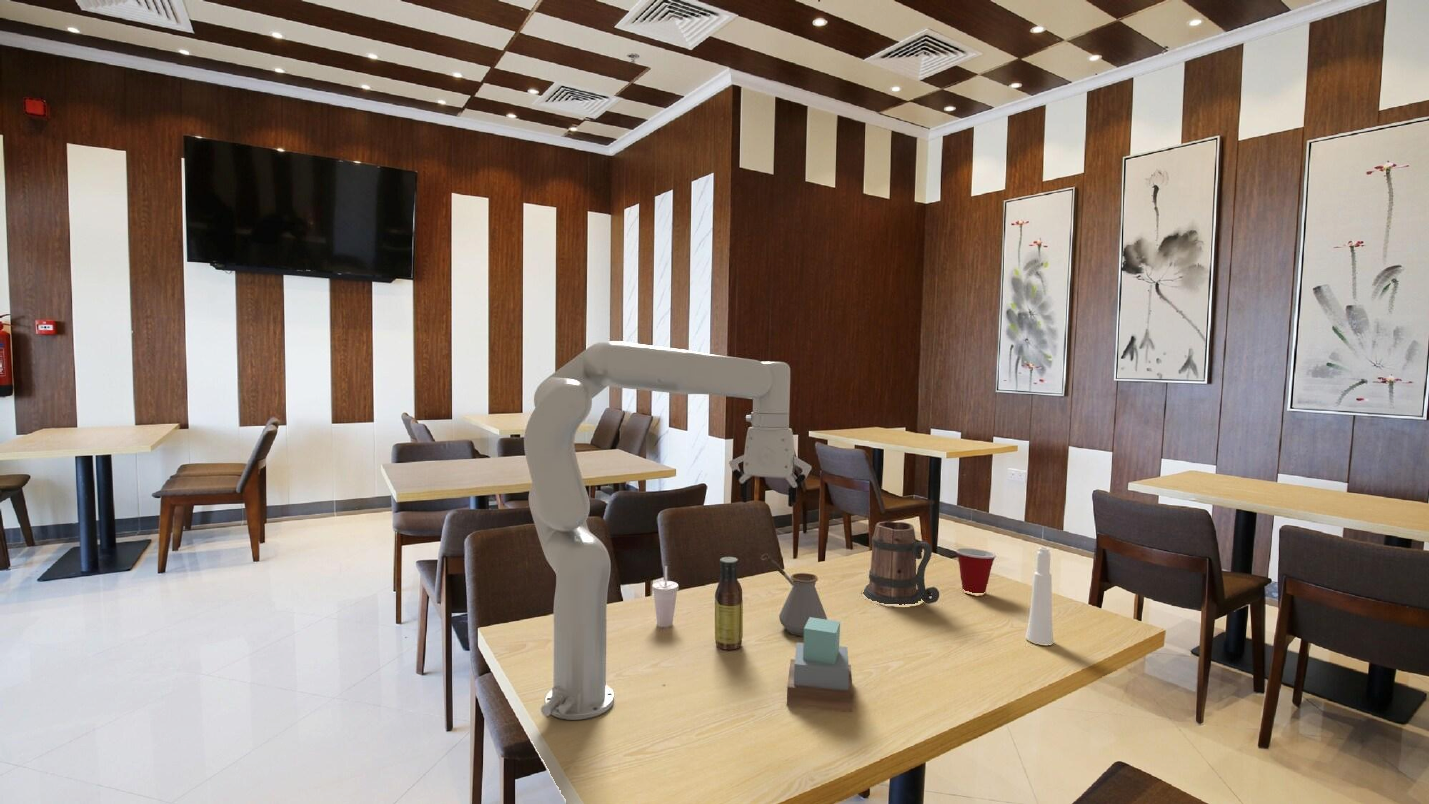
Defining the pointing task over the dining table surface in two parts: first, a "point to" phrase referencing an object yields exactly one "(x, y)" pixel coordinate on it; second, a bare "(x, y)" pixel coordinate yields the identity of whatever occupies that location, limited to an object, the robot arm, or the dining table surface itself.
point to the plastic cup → (975, 568)
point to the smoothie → (665, 601)
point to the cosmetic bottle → (1041, 601)
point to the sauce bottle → (728, 606)
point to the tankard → (898, 566)
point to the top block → (822, 671)
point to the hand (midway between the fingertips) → (768, 503)
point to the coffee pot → (799, 601)
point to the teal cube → (821, 640)
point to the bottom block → (819, 695)
